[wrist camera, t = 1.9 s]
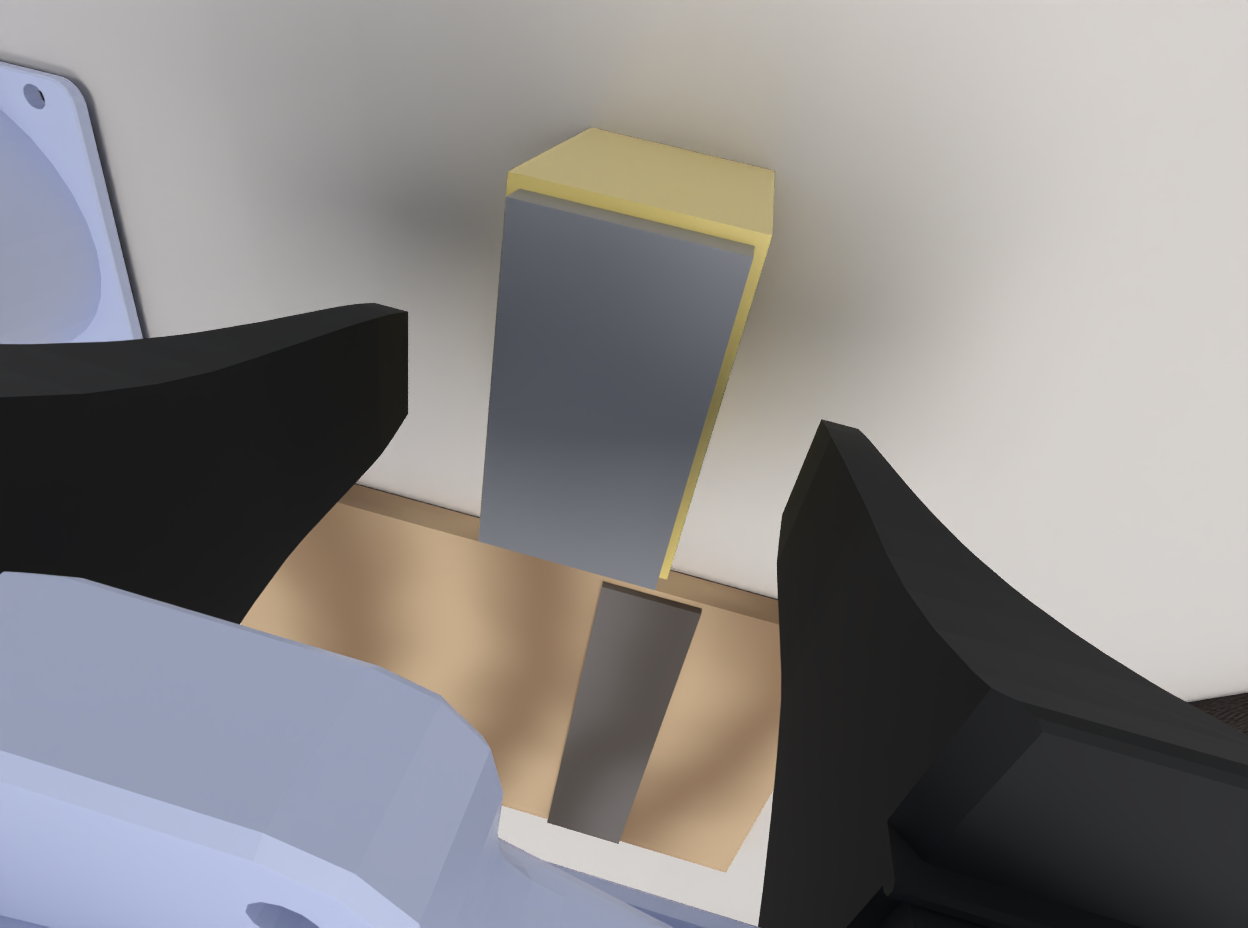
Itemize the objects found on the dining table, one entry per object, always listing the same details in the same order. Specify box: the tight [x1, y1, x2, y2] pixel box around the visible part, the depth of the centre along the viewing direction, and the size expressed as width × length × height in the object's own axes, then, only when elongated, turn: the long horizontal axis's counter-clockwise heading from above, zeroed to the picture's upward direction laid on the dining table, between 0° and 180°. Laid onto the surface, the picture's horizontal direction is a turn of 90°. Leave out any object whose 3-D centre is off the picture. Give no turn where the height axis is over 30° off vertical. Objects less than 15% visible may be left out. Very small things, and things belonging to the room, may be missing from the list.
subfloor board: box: [241, 484, 781, 872], centre depth 24 cm, size 20×14×1 cm
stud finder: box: [478, 127, 775, 590], centre depth 14 cm, size 4×7×6 cm, turn 169°
